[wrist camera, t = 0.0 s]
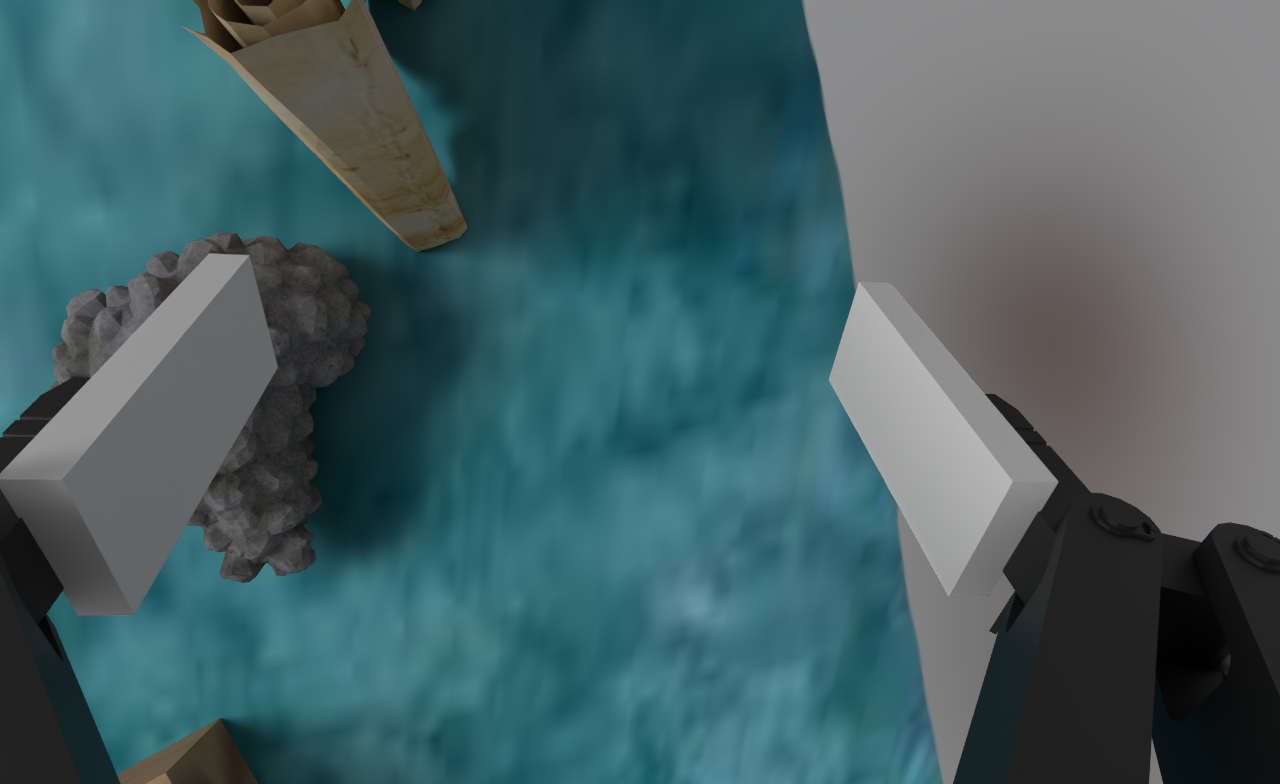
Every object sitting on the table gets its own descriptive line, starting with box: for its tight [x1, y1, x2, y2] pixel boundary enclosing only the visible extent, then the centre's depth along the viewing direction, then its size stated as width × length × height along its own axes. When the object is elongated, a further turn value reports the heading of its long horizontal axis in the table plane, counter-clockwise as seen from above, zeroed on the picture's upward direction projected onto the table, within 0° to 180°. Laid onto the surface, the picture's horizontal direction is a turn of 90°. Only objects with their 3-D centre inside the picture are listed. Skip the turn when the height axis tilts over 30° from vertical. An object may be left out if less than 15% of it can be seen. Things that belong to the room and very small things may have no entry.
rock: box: [49, 232, 372, 583], centre depth 43 cm, size 22×16×15 cm
